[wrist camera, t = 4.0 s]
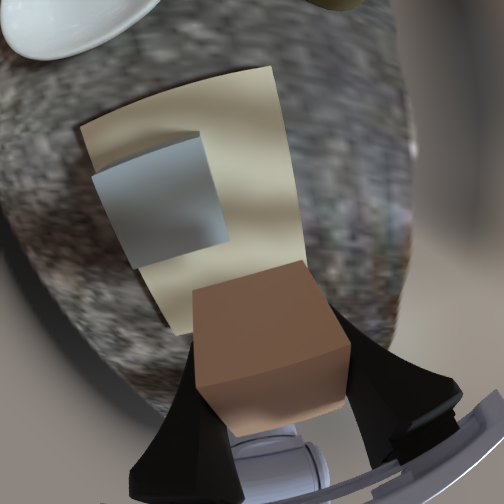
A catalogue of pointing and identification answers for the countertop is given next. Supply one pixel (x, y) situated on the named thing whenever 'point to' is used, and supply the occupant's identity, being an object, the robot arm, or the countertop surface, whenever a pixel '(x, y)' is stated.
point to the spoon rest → (66, 24)
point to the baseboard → (235, 172)
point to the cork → (337, 4)
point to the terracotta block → (268, 349)
